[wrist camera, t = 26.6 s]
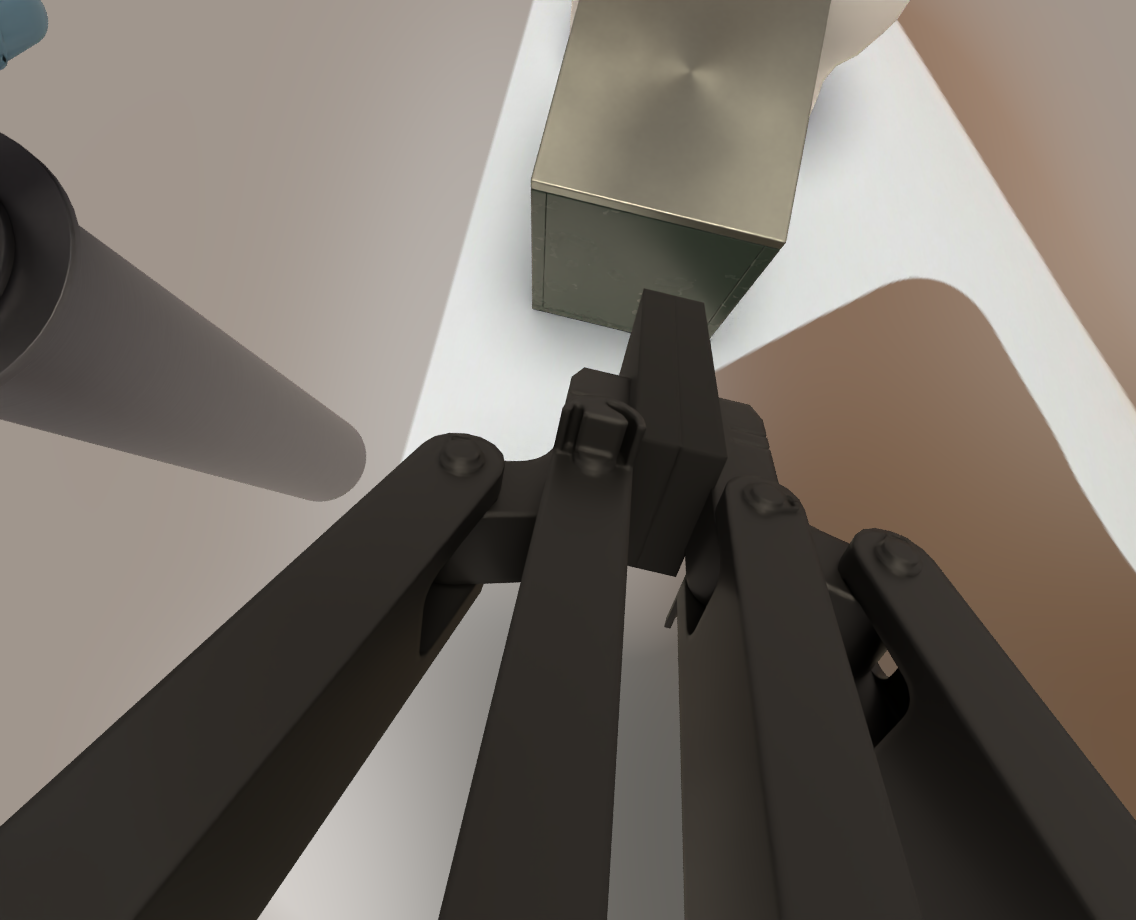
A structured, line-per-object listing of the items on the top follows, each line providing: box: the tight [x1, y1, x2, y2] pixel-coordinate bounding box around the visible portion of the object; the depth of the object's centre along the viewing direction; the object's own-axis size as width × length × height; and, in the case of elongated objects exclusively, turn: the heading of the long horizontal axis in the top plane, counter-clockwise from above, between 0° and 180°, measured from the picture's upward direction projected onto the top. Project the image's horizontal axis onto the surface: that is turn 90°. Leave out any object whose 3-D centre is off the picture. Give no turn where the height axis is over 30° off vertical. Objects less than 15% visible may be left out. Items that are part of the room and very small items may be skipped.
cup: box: [810, 0, 910, 114], centre depth 42 cm, size 11×11×15 cm
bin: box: [531, 188, 780, 338], centre depth 39 cm, size 15×13×15 cm
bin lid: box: [531, 0, 831, 249], centre depth 32 cm, size 16×13×1 cm
